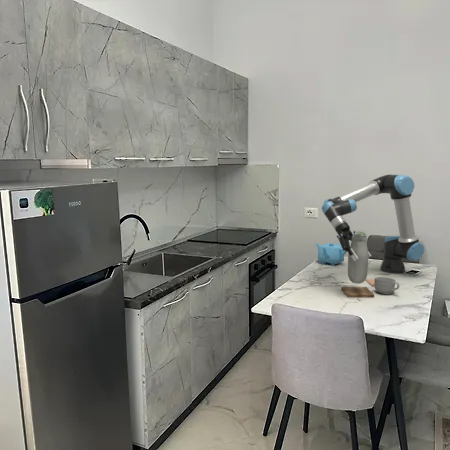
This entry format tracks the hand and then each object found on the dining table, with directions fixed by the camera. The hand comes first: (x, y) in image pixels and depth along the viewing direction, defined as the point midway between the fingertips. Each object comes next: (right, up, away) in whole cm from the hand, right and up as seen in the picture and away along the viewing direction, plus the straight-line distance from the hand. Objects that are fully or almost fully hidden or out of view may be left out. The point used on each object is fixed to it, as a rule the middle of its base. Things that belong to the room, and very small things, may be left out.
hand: (363, 258), depth 219 cm
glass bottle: (-2, -14, +4) cm, 15 cm away
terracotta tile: (+17, -17, +23) cm, 34 cm away
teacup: (+15, -20, +5) cm, 25 cm away
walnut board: (-1, -19, +5) cm, 20 cm away
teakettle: (+1, -10, +74) cm, 75 cm away
